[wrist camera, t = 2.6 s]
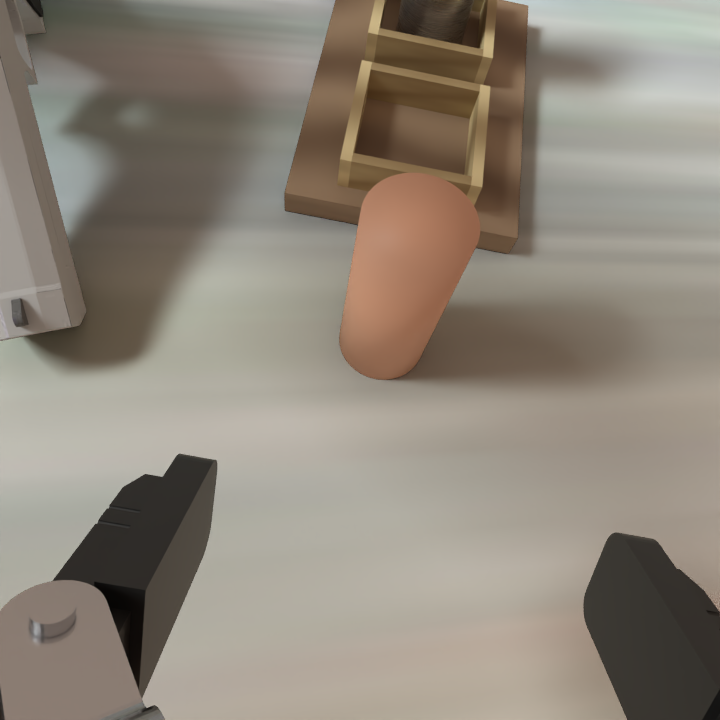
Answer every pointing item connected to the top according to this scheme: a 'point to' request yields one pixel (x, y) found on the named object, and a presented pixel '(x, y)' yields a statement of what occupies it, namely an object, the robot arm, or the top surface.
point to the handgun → (29, 197)
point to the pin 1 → (435, 19)
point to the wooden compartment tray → (415, 114)
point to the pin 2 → (404, 270)
